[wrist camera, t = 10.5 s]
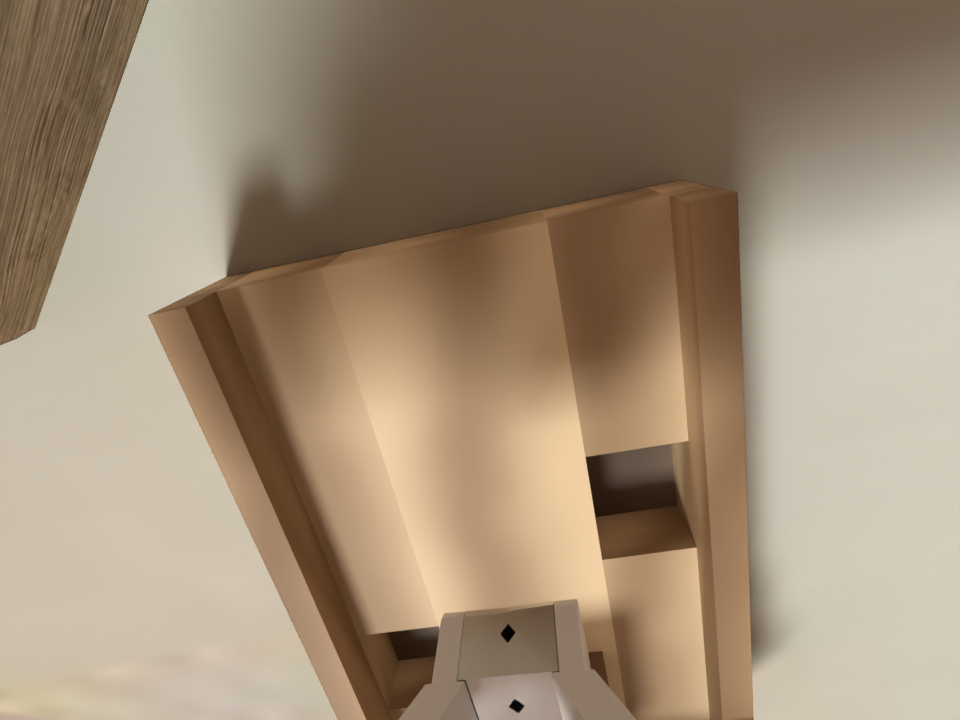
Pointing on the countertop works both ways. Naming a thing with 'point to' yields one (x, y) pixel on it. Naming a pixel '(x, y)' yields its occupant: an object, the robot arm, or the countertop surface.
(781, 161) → the countertop surface
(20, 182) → the hardback book
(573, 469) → the box
